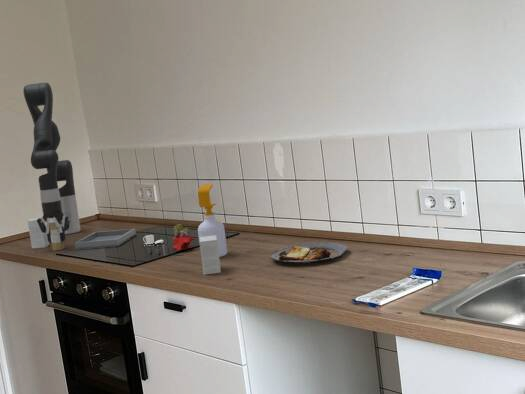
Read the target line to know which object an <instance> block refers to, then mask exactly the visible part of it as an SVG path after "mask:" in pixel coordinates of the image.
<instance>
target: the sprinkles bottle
mask: <svg viewBox="0 0 525 394" xmlns="http://www.w3.org/2000/svg"><path fill="white" fill-rule="evenodd" d="M55 222H56V221H55V220H54V218H49V224H50V225H49V226H50V235H51V242H52V243H51V246H52V251H54V252H55V251H61V250H64V248H65V247H64V244H63V242H64V241H63V242H61V239H60V231H59V229H58V228H57V226H56V224H55Z"/></svg>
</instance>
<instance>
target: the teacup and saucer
mask: <svg viewBox="0 0 525 394" xmlns="http://www.w3.org/2000/svg"><path fill="white" fill-rule="evenodd" d="M142 239H143V242H144V244H146V245H147V244H153V243H155V244H157V243H161V244H163V243H164V239H158V240H156V241H155V237H154V234H148V235H145V236H144V237H143V238H142ZM155 244H153V245H155Z"/></svg>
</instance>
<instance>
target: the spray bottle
mask: <svg viewBox="0 0 525 394" xmlns="http://www.w3.org/2000/svg"><path fill="white" fill-rule="evenodd" d="M212 188H213V183H210V184H209V183H208V184H202V185H200V187H199V188H198V190H197V198H198V205H199V207H200V208H204V210H206V213H204V221H203V222H201V223H200V224H199V225H198V227H197V235H198V238H199V237H205V236H214V235H217V242H218V251H219V258H222V257H225V256H226V255H228V248H227V241H226V232H225V231H226V230H225V225H224V223H223V222H221V221H219V220H217V219H216V218H215V217H216V216H215V212H213V211H212V210H213V207H214V206H216V203H211V195H210V191H211V189H212ZM199 245H200V243H199Z"/></svg>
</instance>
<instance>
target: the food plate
mask: <svg viewBox="0 0 525 394" xmlns="http://www.w3.org/2000/svg"><path fill="white" fill-rule="evenodd" d="M348 248H349V247H348V246H347V245H345V244H341V243H339V242H332V241H331V242H329V241H316V242H313V241H311V242H303V243H296V244H292V245H287V246H285V247H282V248H277V249H275V251H273V252H272V254H271V255H270V256H269V257H270V259H271V260H273V261H276V262H280V263H299V264H301V263H302V264H313V263H315V262H318V261H319V262H320V261H327V260H333V259H336V257H337V258H339V256H340V257H341V256H342V255H343V254H344V253H345V252H346V251H347V249H348ZM310 250H314V251H312V255H311V256H307V255H308V254H310V253H309V252H310ZM327 250H333V251H335V252H337V255H336V256H333V257H330V255H331V252H329V251H327ZM338 253H340V254H338ZM330 258H331V259H330Z"/></svg>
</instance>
